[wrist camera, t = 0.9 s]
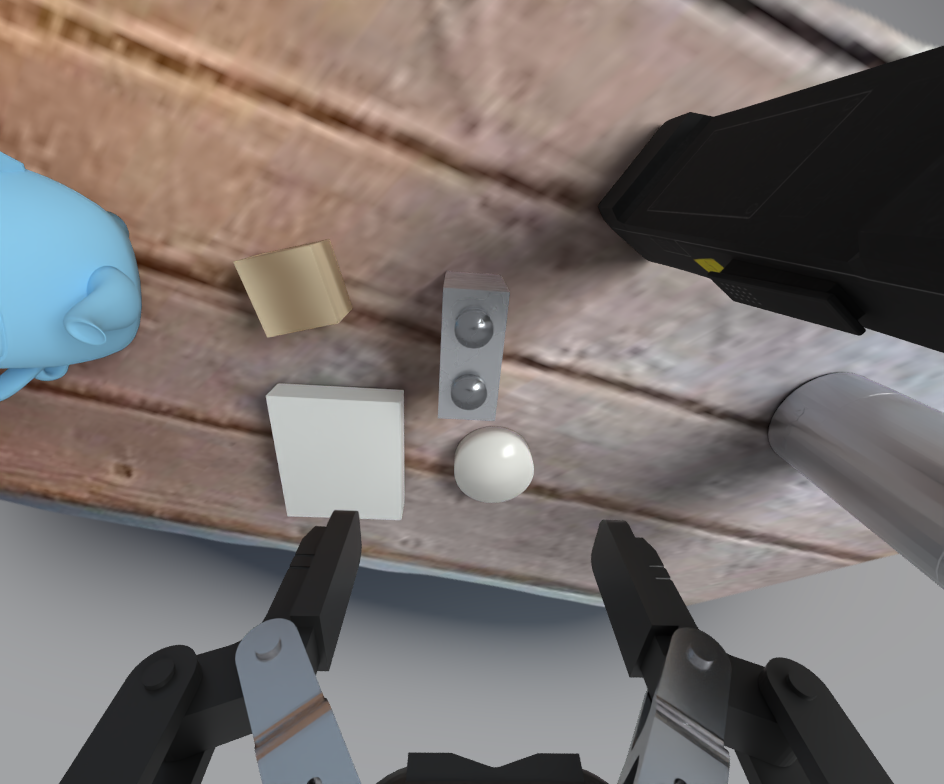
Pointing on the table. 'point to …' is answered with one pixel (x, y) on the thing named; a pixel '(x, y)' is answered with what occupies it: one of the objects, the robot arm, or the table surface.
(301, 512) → the stand
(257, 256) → the oak block
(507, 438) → the glossy white pebble
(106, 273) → the teapot
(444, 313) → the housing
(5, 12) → the table surface
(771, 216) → the portable radio
